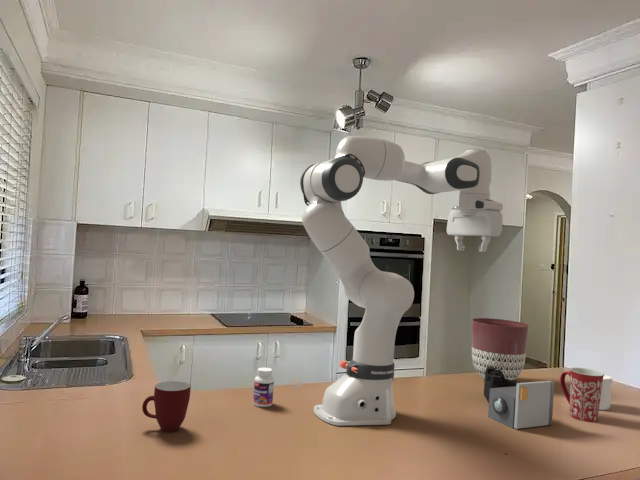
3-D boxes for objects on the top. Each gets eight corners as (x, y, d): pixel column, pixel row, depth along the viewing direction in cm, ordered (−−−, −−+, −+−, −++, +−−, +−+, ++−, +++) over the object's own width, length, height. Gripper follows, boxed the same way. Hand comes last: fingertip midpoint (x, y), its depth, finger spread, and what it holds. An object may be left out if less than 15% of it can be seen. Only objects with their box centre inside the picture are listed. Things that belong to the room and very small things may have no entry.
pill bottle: (249, 405, 140) (251, 369, 140) (258, 400, 145) (261, 365, 145) (266, 408, 138) (269, 372, 138) (275, 403, 143) (278, 368, 143)
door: (518, 429, 133) (521, 384, 133) (513, 427, 135) (516, 383, 135) (553, 425, 138) (556, 382, 139) (548, 423, 140) (551, 380, 140)
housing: (509, 428, 134) (511, 395, 135) (485, 417, 143) (487, 386, 143) (545, 424, 140) (547, 392, 140) (519, 413, 148) (521, 383, 148)
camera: (523, 410, 152) (526, 376, 152) (486, 405, 154) (488, 372, 154) (515, 397, 166) (517, 366, 166) (481, 393, 168) (483, 362, 168)
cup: (603, 412, 154) (605, 380, 154) (569, 403, 162) (571, 372, 162) (615, 407, 161) (617, 376, 161) (582, 399, 168) (584, 369, 168)
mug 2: (608, 421, 146) (611, 374, 146) (586, 424, 142) (589, 375, 142) (571, 407, 157) (573, 363, 158) (549, 409, 154) (552, 364, 154)
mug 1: (138, 436, 114) (141, 391, 114) (142, 423, 121) (144, 381, 121) (187, 434, 116) (190, 390, 116) (187, 422, 124) (190, 381, 124)
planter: (471, 385, 176) (475, 323, 176) (465, 372, 195) (468, 316, 195) (531, 392, 173) (535, 328, 173) (518, 378, 192) (522, 321, 192)
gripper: (443, 205, 160) (440, 249, 160) (490, 202, 142) (487, 252, 142) (459, 207, 163) (456, 250, 163) (507, 204, 145) (504, 253, 144)
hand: (471, 251), depth 152 cm, fingers open, 8 cm apart
